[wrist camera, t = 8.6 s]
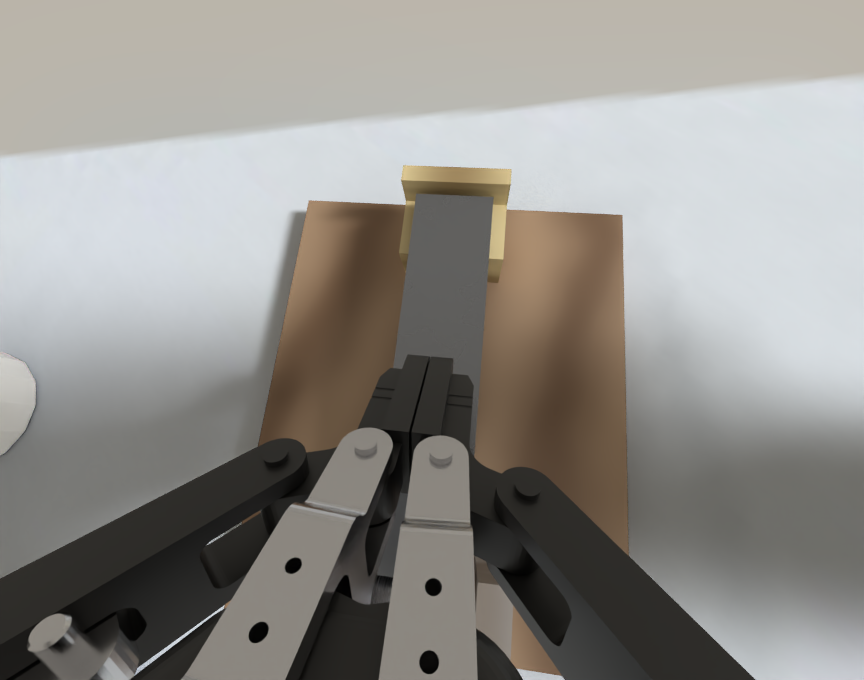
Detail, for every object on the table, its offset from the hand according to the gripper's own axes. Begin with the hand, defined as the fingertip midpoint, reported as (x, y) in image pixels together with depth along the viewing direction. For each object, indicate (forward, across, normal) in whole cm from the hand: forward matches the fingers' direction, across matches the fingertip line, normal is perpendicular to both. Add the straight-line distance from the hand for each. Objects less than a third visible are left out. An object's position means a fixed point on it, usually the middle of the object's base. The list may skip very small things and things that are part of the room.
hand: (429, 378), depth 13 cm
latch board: (+6, 0, +6) cm, 9 cm away
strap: (+3, 0, +3) cm, 5 cm away
